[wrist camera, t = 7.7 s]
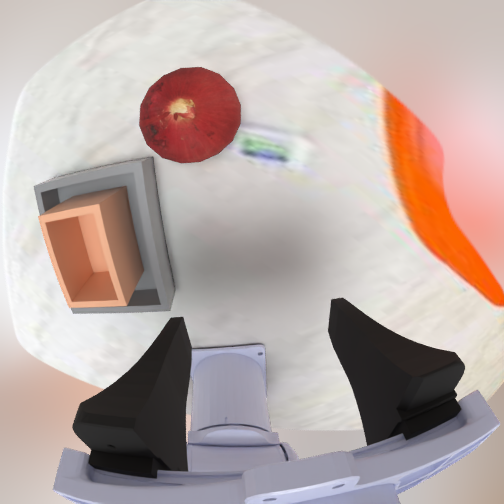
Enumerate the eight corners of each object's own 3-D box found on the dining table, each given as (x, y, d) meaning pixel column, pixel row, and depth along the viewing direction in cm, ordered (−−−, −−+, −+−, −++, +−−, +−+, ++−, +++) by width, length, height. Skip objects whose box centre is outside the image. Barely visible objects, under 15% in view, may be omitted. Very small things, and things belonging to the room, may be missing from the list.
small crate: (144, 270, 22) (126, 305, 17) (93, 274, 21) (69, 307, 17) (126, 185, 19) (99, 203, 14) (72, 196, 18) (38, 216, 14)
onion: (174, 169, 19) (143, 194, 12) (145, 100, 17) (98, 86, 9) (249, 138, 19) (264, 143, 11) (220, 68, 16) (217, 30, 9)
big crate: (175, 290, 23) (170, 310, 21) (85, 294, 23) (73, 313, 20) (153, 156, 19) (141, 161, 16) (53, 177, 18) (33, 186, 15)
